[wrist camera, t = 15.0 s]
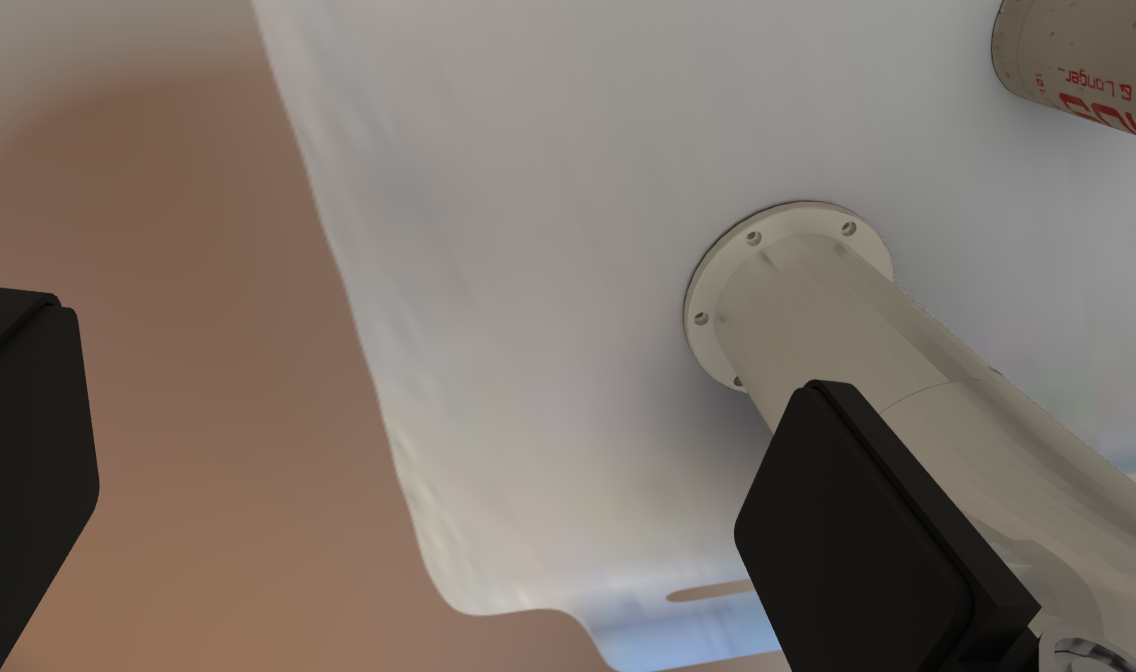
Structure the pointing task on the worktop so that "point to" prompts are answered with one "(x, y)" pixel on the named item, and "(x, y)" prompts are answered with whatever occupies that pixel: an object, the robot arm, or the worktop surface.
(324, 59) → the worktop surface
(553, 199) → the worktop surface
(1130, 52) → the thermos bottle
